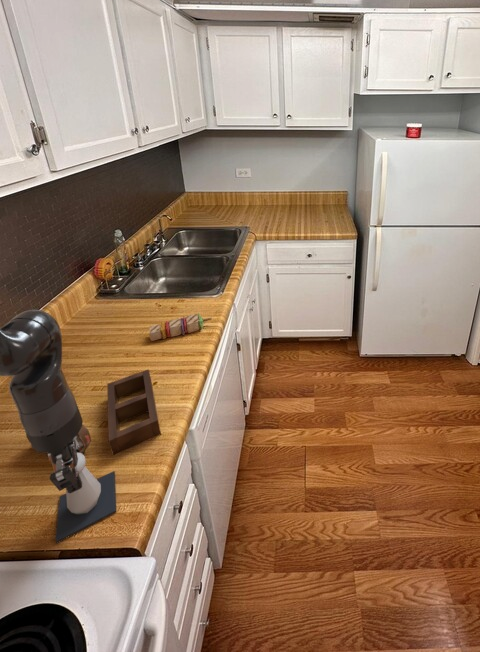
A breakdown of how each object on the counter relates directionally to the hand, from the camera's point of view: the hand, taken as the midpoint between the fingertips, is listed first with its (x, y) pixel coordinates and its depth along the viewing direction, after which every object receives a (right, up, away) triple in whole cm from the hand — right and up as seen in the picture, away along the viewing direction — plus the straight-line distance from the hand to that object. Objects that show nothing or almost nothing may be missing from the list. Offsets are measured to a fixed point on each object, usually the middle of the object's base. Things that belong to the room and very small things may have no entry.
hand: (76, 477), depth 65 cm
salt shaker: (0, -8, +3) cm, 8 cm away
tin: (-13, -4, +14) cm, 20 cm away
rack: (-1, 0, +23) cm, 23 cm away
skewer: (-1, +12, +54) cm, 56 cm away
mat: (0, -8, +3) cm, 9 cm away
